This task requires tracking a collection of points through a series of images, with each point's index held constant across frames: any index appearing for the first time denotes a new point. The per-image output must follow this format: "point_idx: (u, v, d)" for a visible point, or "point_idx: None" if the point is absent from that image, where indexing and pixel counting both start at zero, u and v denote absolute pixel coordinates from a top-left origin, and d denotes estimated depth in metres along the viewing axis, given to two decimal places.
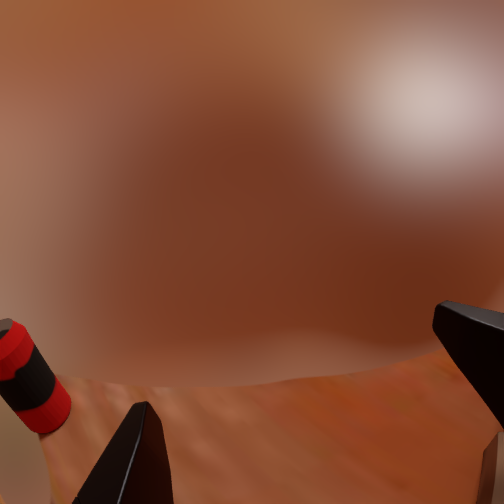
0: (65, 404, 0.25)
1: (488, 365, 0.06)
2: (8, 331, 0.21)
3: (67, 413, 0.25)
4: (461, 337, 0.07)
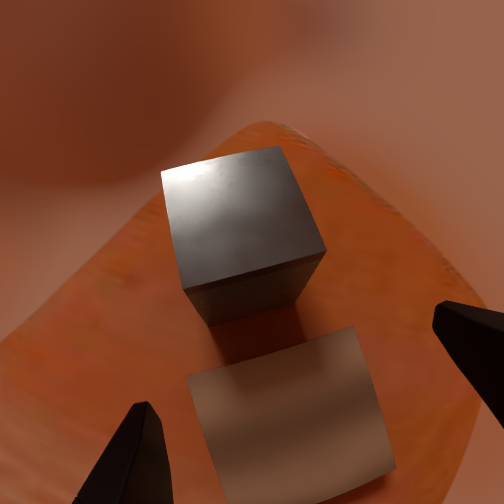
0: None
1: (488, 365, 0.06)
2: None
3: None
4: (461, 337, 0.07)
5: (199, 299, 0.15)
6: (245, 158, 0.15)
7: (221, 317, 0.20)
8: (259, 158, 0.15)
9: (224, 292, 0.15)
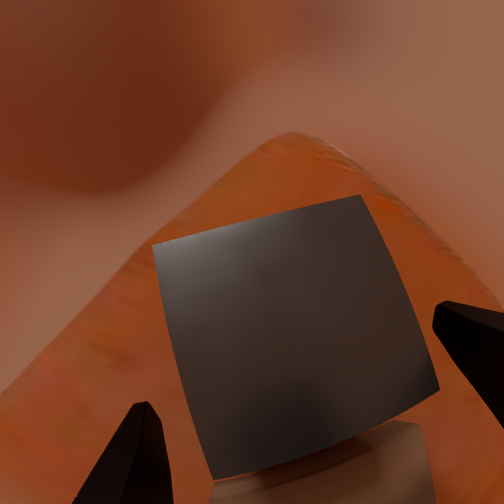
0: None
1: (487, 365, 0.06)
2: None
3: None
4: (461, 337, 0.07)
5: None
6: (306, 220, 0.09)
7: None
8: (331, 220, 0.09)
9: None
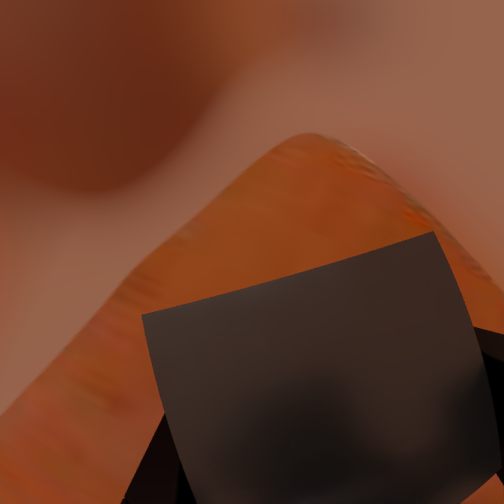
0: None
1: None
2: None
3: None
4: None
5: None
6: (371, 274, 0.06)
7: None
8: (403, 273, 0.06)
9: None
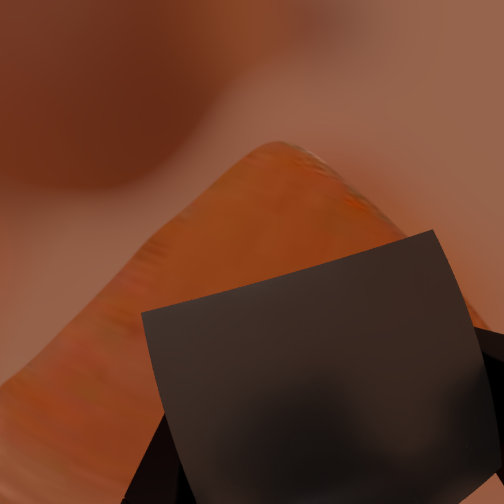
0: None
1: None
2: None
3: None
4: None
5: None
6: (371, 272, 0.06)
7: None
8: (402, 271, 0.06)
9: None
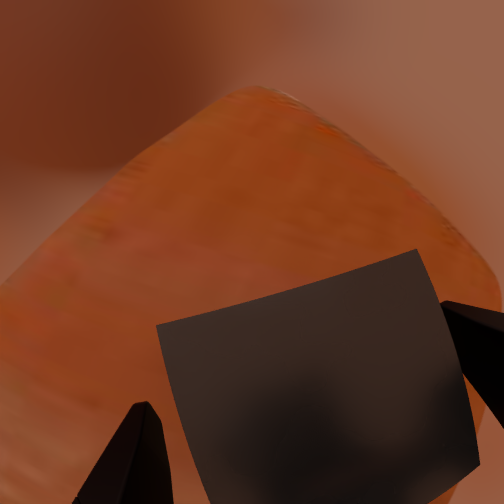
0: None
1: (487, 365, 0.06)
2: None
3: None
4: (461, 337, 0.07)
5: None
6: (357, 289, 0.07)
7: None
8: (386, 287, 0.07)
9: None
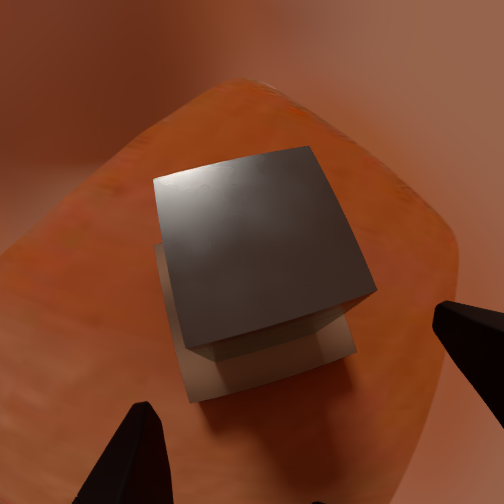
0: None
1: (487, 365, 0.06)
2: None
3: None
4: (461, 337, 0.07)
5: (207, 350, 0.11)
6: (265, 162, 0.12)
7: (231, 355, 0.16)
8: (284, 162, 0.12)
9: (240, 342, 0.11)
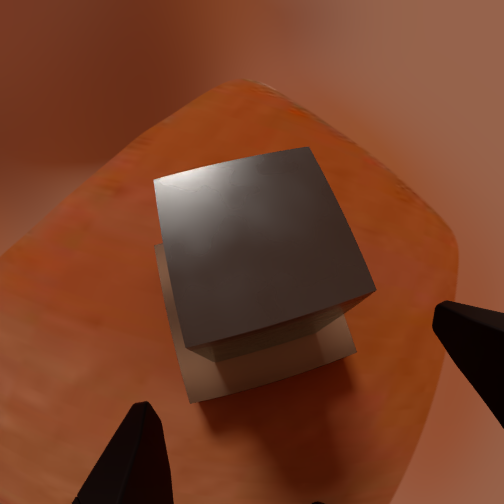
0: None
1: (488, 365, 0.06)
2: None
3: None
4: (461, 337, 0.07)
5: (207, 350, 0.11)
6: (265, 162, 0.12)
7: (231, 355, 0.16)
8: (284, 163, 0.12)
9: (240, 341, 0.11)
